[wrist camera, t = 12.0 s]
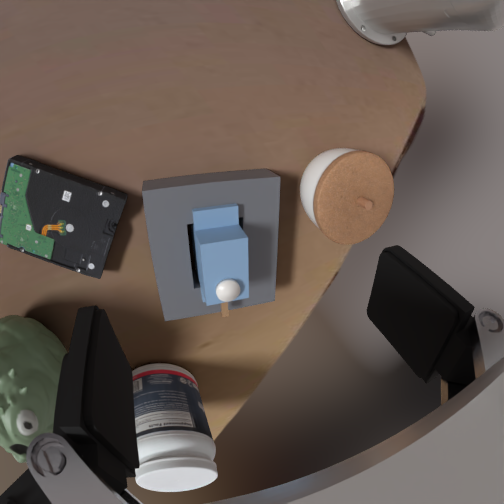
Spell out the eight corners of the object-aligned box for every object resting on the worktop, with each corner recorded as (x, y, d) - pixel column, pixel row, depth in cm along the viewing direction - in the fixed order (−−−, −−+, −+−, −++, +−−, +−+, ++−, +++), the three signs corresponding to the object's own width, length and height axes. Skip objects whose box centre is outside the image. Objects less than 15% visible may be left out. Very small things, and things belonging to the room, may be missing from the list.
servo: (187, 197, 32) (199, 226, 25) (226, 192, 33) (249, 219, 26) (197, 290, 38) (211, 334, 31) (231, 284, 39) (251, 326, 32)
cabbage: (8, 368, 34) (-12, 468, 17) (-20, 274, 26) (-80, 386, 10) (88, 381, 40) (88, 491, 23) (77, 288, 33) (51, 427, 16)
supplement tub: (193, 401, 50) (218, 488, 34) (125, 403, 45) (136, 494, 30) (199, 357, 44) (230, 460, 29) (117, 357, 39) (123, 468, 24)
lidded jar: (307, 126, 32) (355, 136, 25) (367, 160, 37) (416, 180, 29) (272, 205, 36) (308, 238, 28) (335, 228, 41) (376, 260, 33)
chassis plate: (266, 168, 33) (280, 176, 30) (264, 283, 41) (274, 300, 38) (143, 181, 30) (141, 191, 26) (162, 301, 37) (165, 321, 34)
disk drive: (129, 190, 30) (16, 153, 23) (127, 198, 28) (6, 157, 21) (103, 268, 33) (2, 234, 26) (101, 280, 31) (-7, 244, 24)
